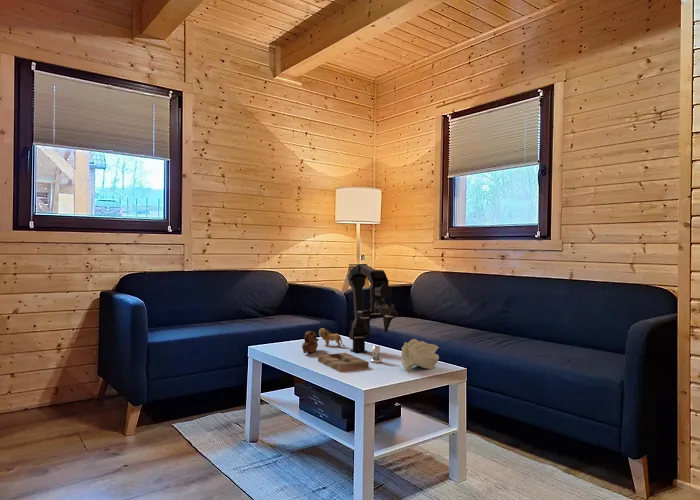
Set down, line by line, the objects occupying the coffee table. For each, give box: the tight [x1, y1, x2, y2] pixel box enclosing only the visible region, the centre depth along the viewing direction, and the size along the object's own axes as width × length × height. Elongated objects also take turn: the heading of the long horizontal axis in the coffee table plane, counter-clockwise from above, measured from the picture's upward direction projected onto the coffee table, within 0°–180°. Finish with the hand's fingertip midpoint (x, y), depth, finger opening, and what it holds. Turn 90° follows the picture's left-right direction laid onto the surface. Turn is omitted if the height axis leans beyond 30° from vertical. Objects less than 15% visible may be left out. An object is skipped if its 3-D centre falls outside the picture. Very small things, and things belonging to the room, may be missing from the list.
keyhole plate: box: [317, 352, 370, 373], centre depth 210 cm, size 20×14×3 cm
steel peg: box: [370, 345, 383, 364], centre depth 216 cm, size 5×5×7 cm
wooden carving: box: [301, 330, 319, 354], centre depth 233 cm, size 16×5×10 cm, turn 168°
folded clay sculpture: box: [400, 338, 440, 372], centre depth 206 cm, size 18×13×16 cm
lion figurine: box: [318, 327, 346, 349], centre depth 248 cm, size 15×5×9 cm, turn 70°
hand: (377, 333), depth 216 cm, fingers open, 9 cm apart
